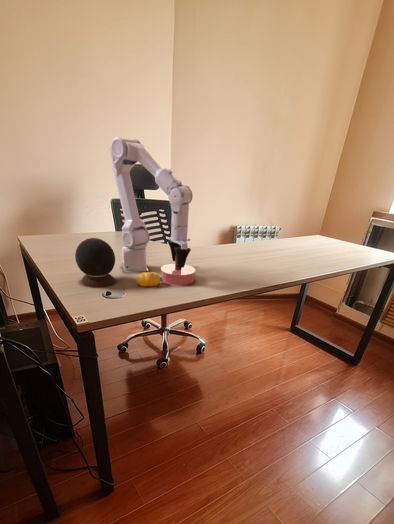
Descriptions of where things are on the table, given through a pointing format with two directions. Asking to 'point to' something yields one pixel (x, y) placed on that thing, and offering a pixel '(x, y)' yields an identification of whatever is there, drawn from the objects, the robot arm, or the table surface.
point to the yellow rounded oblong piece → (148, 279)
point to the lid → (177, 269)
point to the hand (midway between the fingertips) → (178, 264)
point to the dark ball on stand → (95, 262)
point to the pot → (177, 279)
